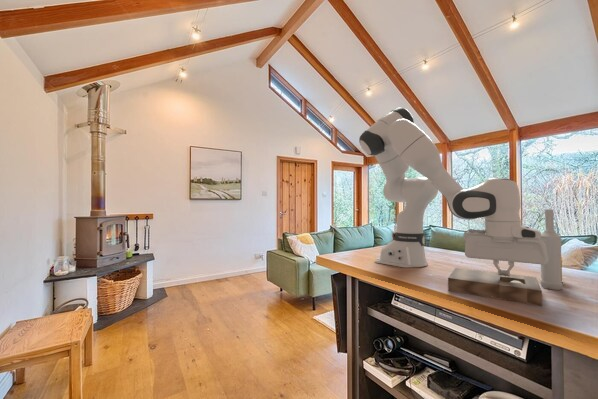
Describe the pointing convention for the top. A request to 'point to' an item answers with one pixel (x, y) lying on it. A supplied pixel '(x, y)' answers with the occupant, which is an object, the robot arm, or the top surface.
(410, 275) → the top surface
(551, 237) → the bottle
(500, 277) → the board
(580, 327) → the top surface
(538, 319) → the top surface
